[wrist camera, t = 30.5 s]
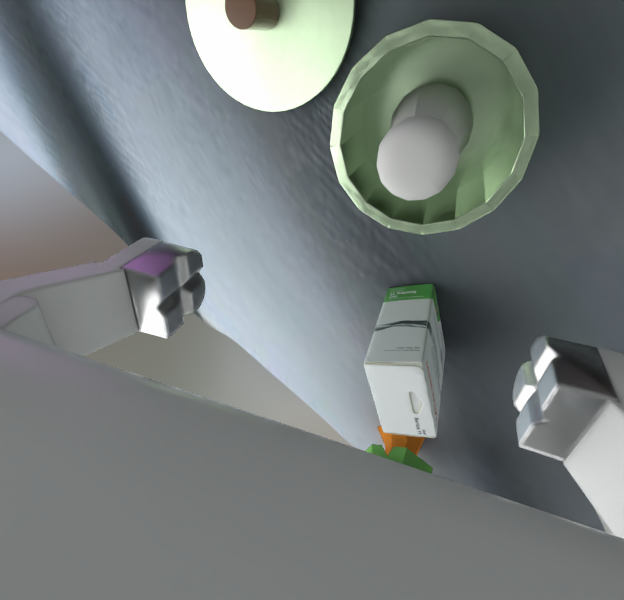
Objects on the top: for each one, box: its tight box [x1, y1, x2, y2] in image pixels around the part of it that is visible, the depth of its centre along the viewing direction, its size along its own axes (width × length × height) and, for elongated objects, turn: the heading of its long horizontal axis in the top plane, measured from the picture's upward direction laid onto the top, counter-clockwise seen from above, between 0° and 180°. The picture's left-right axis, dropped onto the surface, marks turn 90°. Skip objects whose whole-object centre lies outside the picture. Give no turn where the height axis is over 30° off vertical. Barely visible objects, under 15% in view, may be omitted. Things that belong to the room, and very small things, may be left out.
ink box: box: [364, 284, 445, 438], centre depth 36 cm, size 9×5×12 cm, turn 17°
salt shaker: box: [377, 83, 473, 201], centre depth 25 cm, size 6×6×13 cm
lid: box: [185, 0, 356, 112], centre depth 28 cm, size 14×14×5 cm
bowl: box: [330, 19, 540, 235], centre depth 28 cm, size 13×13×8 cm
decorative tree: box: [366, 426, 433, 474], centre depth 40 cm, size 10×9×30 cm
